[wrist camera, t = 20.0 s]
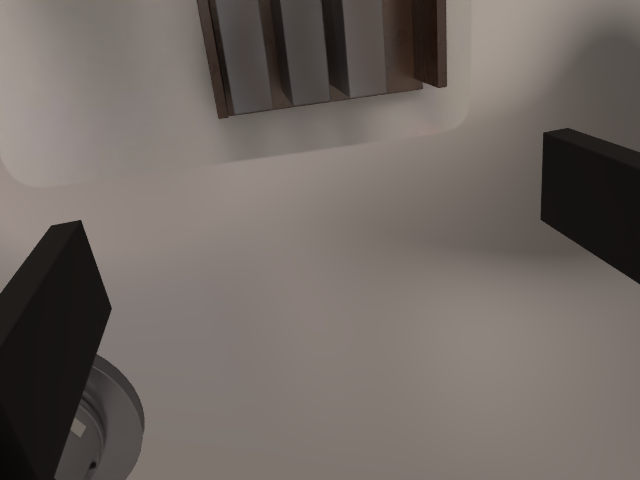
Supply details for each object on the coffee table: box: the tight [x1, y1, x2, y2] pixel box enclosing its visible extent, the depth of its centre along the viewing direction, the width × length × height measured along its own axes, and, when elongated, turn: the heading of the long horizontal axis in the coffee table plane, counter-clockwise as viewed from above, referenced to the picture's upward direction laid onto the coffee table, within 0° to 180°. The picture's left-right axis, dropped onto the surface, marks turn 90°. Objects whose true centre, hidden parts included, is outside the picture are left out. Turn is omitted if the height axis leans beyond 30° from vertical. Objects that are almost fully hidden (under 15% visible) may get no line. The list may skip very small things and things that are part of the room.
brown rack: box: [197, 0, 447, 119], centre depth 44 cm, size 19×12×9 cm, turn 96°
